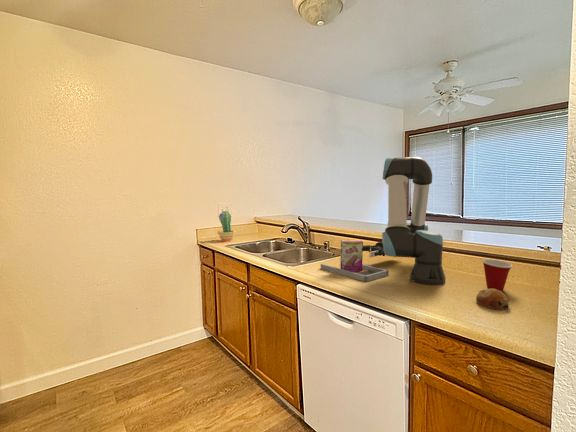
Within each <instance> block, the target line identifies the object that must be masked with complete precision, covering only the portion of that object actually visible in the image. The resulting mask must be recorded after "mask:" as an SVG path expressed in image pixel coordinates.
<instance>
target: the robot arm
mask: <svg viewBox="0 0 576 432" xmlns="http://www.w3.org/2000/svg"><path fill="white" fill-rule="evenodd" d="M382 180H384V182H385V184H386V185H387V186H388V188H387V189H388V193H387V198H388V200H387V201H388V202H387V203H388V211H387V213H388V216H387V217H388V220H387V227H386V228H385V229H384V231H383V232H382V233H381V239H382V240H381V241H377V242H376V244H374V245H370V244H367V245H364V244H363V252H369V255H368V256H369V258H373V257H377V256H381V257H386V256H387V257H392V258H410V259H411V258H414V263H413V266H412V269H411V272H410V280H411V281H413V282H415V283H419V284H423V285H432V286H438V285H443V284H445V283H446V278H447V277H446V274H445V272H444V269H443V248H444V247H443V246H444V241H443V240H444V239H443V238H444V237H443V235H442V234H440V233H439V232H438V233H437V232H435V231H430V230H429V226H428V223H426V217H427V216H426V215H427V209H428V208H427V206H428V200H429V193H430V192H429V191H430V185H431V184H433V183H432V182H433V171H432V169H431V167H430V165H429V164H428V162H427V161H426V160H425V159H423V158H421V157H419V156H403V157H402V156H401V157H399V156H398V157H395V156H392V157H386V158H385V161H384V163H383V170H382ZM410 180H412V181H411V182H412V184H413V192H412V193H413V194H412V204H411V217H410V223H408V221H407V217H408V215H407V184H408V183H409V182H410Z"/></svg>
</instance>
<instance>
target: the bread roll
mask: <svg viewBox="0 0 576 432" xmlns="http://www.w3.org/2000/svg"><path fill="white" fill-rule="evenodd" d="M475 300H476V303H477V304H478V305H479V306H481V307H483V308H486V309H490V310H494V311H505V310H507V309H508V308H509V306H510V301H509V299H508V297H507V296H506V295H505V294H504V293H503V291H499V290H497V289H492V288H491V289H488V288H484V289H482V290H480V291H479V292H478V293H477V294H476V296H475Z"/></svg>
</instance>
